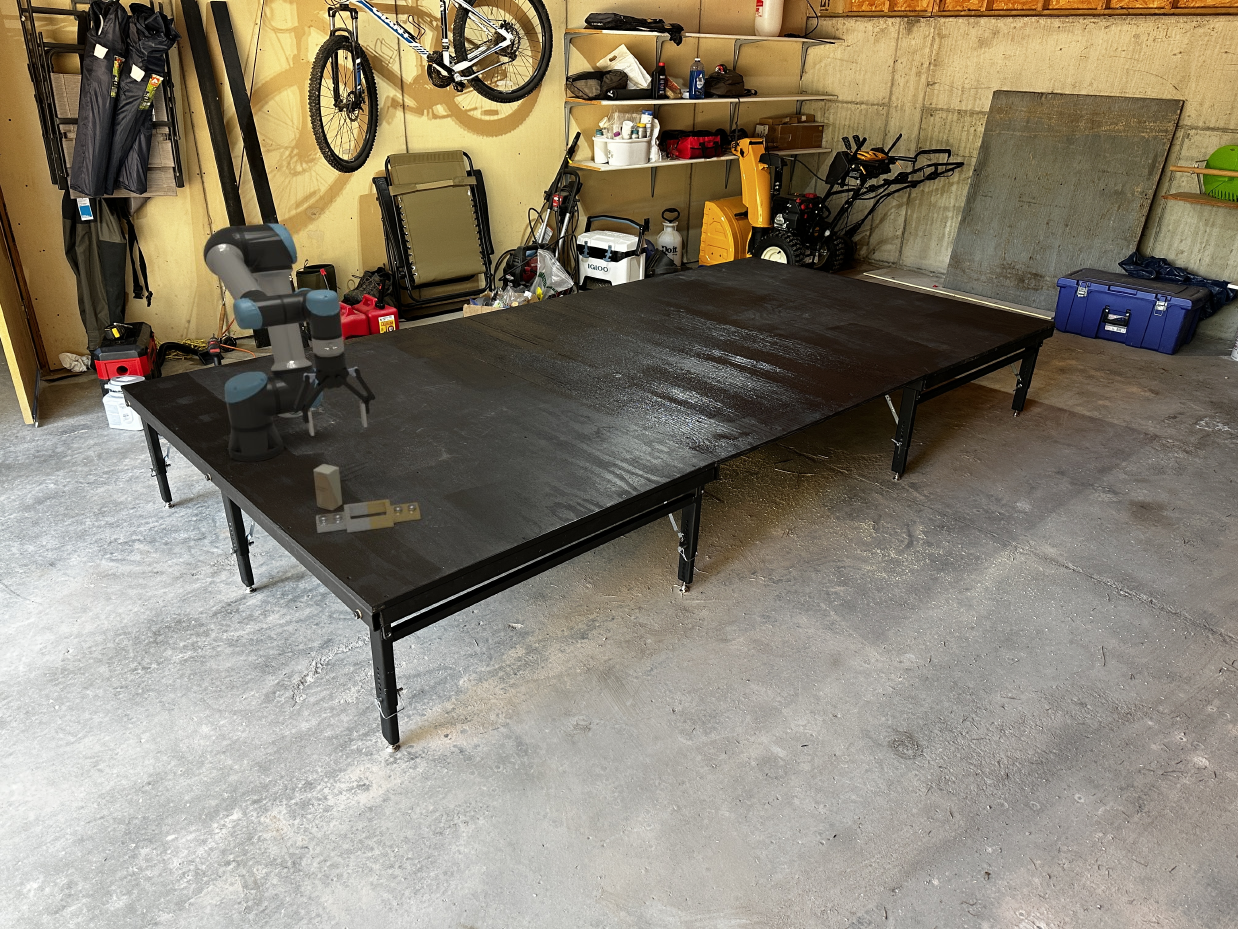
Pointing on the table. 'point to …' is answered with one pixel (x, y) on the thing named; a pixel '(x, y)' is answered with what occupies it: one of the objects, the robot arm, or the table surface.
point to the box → (327, 487)
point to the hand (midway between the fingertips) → (338, 429)
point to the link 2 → (391, 513)
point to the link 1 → (344, 519)
